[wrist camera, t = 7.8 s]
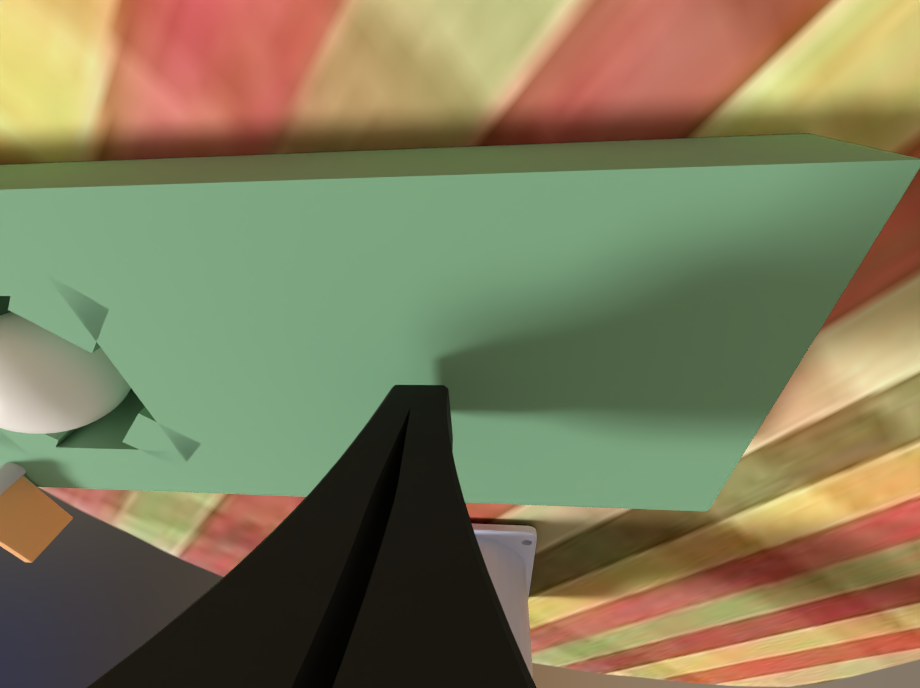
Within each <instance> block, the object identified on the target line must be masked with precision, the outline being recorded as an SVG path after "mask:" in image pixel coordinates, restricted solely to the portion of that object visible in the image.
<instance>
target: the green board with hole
mask: <svg viewBox="0 0 920 688" xmlns="http://www.w3.org/2000/svg"><path fill="white" fill-rule="evenodd" d="M919 168H920V158H916V157H911V156H907V155H902V154H898V153H893V152H889V151H884V150H880V149H875V148H871V147H867V146H862V145H858V144H853V143H849V142H844V141H840V140H835V139H831V138H826V137H822V136H817V135H813V134H783V135H757V136H731V137H705V138H679V139H653V140H627V141H602V142H576V143H550V144H524V145H498V146H472V147H446V148H420V149H394V150H368V151H342V152H316V153H291V154H265V155H239V156H213V157H187V158H161V159H135V160H109V161H83V162H57V163H31V164H5V165H0V315H3V314H6V313H9V312H13V313H15V314H17V315H19V316H21V317H23V318H25V319H27V320H29V321H31V322H33V323H34V324H36V325H38V326H40V327H42V328H44V329H46V330H48V331H50V332H52V333H54V334H56V335H58V336H59V337H61V338H63V339H65V340H67V341H69V342H71V343H73V344H75V345H77V346H79V347H81V348H83V349H84V350H86V351H88V352H90V353H93V352H95V351H96V350H97V349H99V348H100V347H101V348H102V350H103V351H104V352H105V354H106V355H107V356H108V358H109V359H110V360H111V362H112V363H113V364H114V366H115V367H116V368H117V370H118V371H119V372H120V374H121V375H122V376H123V378H124V379H125V380H126V382H127V383H128V384H129V386H130V387H131V388H132V389H130V391H129V393H128V394H127V396H126V397H125V398H124V400H123V401H122V402H121V403H120V404H119V405H118V406H117V407H116V408H115V409H114V410H112V411H111V412H109V413H108V414H107V415H105V416H103V417H102V418H100V419H98V420H96V421H94V422H92V423H90V424H88V425H85V426H82V427H79V428H76V429H72V430H68V431H63V432H57V433H47V434H30V433H21V432H14V431H9V430H5V429H2V428H0V546H1V547H3V548H4V549H6V550H7V551H9V552H11V553H12V554H14V555H15V556H17V557H18V558H20V559H21V560H23V561H24V562H33V561H34V560H35V559H36V558H37V556H39V554H40V553H41V552H42V551H43V550H44V549H45V548H46V547H47V546H48V545H49V544H50V542H51V541H52V540H53V539H54V538H55V537H56V536H57V535H58V534H59V533H60V531H61V530H62V529H63V528H64V527H65V526H66V525H67V524H68V523H69V522H70V521H71V519H73V517H71V516H70V515H69V514H68V513H67V512H66V511H64V510H63V509H62V508H61V507H60V506H58V505H57V504H56V503H55V502H54V501H52V500H51V499H50V498H49V497H47V496H46V495H45V494H44V493H43V492H42V491H40V490H39V489H38V488H37V487H60V488H87V489H114V490H141V491H168V492H195V493H222V494H249V495H276V496H303V497H307V496H308V495H309V493H310V492H311V491H312V490H313V489H314V488H315V487H316V486H317V484H318V483H319V482H320V481H321V480H322V479H323V477H324V476H325V475H326V474H327V473H328V472H329V470H330V469H331V468H332V467H333V466H334V465H335V463H336V462H337V461H338V460H339V459H340V457H341V456H342V455H343V454H344V452H345V451H346V450H347V449H348V447H349V446H350V445H351V443H352V442H353V441H354V440H355V438H356V437H357V436H358V434H359V433H360V432H361V431H362V429H363V428H364V427H365V425H366V424H367V422H368V421H369V420H370V418H371V417H372V416H373V414H374V413H375V411H376V410H377V409H378V407H379V406H380V404H381V403H382V401H383V400H384V398H385V397H386V395H387V394H388V393H389V391H390V390H391V388H392V387H393V386H394V385H444V386H445V387H447V388H448V389H449V400H450V411H451V422H452V433H453V450H452V452H453V457H454V462H455V466H456V471H457V475H458V479H459V483H460V486H461V490H462V494H463V497H464V501H465V502H466V503H493V504H520V505H547V506H574V507H601V508H628V509H655V510H682V511H708V510H709V509H710V507H711V506H712V504H713V502H714V501H715V499H716V497H717V496H718V494H719V493H720V491H721V489H722V488H723V486H724V484H725V483H726V481H727V480H728V478H729V476H730V475H731V473H732V472H733V470H734V468H735V467H736V465H737V463H738V462H739V460H740V459H741V457H742V455H743V454H744V452H745V450H746V449H747V447H748V446H749V444H750V442H751V441H752V439H753V437H754V436H755V434H756V433H757V431H758V429H759V428H760V426H761V425H762V423H763V421H764V420H765V418H766V416H767V415H768V413H769V412H770V410H771V408H772V407H773V405H774V403H775V402H776V400H777V399H778V397H779V395H780V394H781V392H782V390H783V389H784V387H785V386H786V384H787V382H788V381H789V379H790V378H791V376H792V374H793V373H794V371H795V369H796V368H797V366H798V365H799V363H800V361H801V360H802V358H803V356H804V355H805V353H806V352H807V350H808V348H809V347H810V345H811V343H812V342H813V340H814V339H815V337H816V335H817V334H818V332H819V331H820V329H821V327H822V326H823V324H824V322H825V321H826V319H827V318H828V316H829V314H830V313H831V311H832V309H833V308H834V306H835V305H836V303H837V301H838V300H839V298H840V296H841V295H842V293H843V292H844V290H845V288H846V287H847V285H848V284H849V282H850V280H851V279H852V277H853V275H854V274H855V272H856V271H857V269H858V267H859V266H860V264H861V262H862V261H863V259H864V258H865V256H866V254H867V253H868V251H869V250H870V248H871V246H872V245H873V243H874V241H875V240H876V238H877V237H878V235H879V233H880V232H881V230H882V228H883V227H884V225H885V224H886V222H887V220H888V219H889V217H890V215H891V214H892V212H893V211H894V209H895V207H896V206H897V204H898V203H899V201H900V199H901V198H902V196H903V194H904V193H905V191H906V190H907V188H908V186H909V185H910V183H911V181H912V180H913V178H914V177H915V175H916V173H917V172H918V170H919Z"/></svg>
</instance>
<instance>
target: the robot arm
mask: <svg viewBox="0 0 920 688" xmlns="http://www.w3.org/2000/svg"><path fill="white" fill-rule="evenodd" d="M452 450H453V433H452V422H451V411H450V400H449V389H448V388H447V387H445V386H444V385H394V386H393V387H392V388H391V390H390V391H389V393H388V394H387V395H386V397H385V398H384V400H383V401H382V403H381V404H380V406H379V407H378V409H377V410H376V411H375V413H374V414H373V416H372V417H371V418H370V420H369V421H368V422H367V424H366V425H365V427H364V428H363V429H362V431H361V432H360V433H359V434H358V436H357V437H356V438H355V440H354V441H353V442H352V443H351V445H350V446H349V447H348V449H347V450H346V451H345V452H344V454H343V455H342V456H341V457H340V459H339V460H338V461H337V462H336V463H335V465H334V466H333V467H332V468H331V469H330V470H329V472H328V473H327V474H326V475H325V476H324V477H323V479H322V480H321V481H320V482H319V483H318V484H317V486H316V487H315V488H314V489H313V490H312V491H311V492H310V493H309V495H308V496H307V497H306V498H305V499H304V500H303V501H302V502H301V503H300V504H299V505H298V506H297V507H296V509H295V510H294V511H293V512H292V513H291V514H290V515H289V516H288V517H287V518H286V519H285V520H284V521H283V522H282V523H281V524H280V525H279V526H278V527H277V528H276V529H275V530H274V531H273V532H272V533H271V534H270V535H269V536H268V537H267V538H266V539H265V540H263V541H262V542H261V543H260V544H259V545H258V546H257V547H256V548H255V549H254V550H253V551H252V552H251V553H250V554H249V555H248V556H247V557H246V558H244V559H243V560H242V561H241V562H240V563H239V564H238V565H237V566H236V567H235V568H234V569H232V570H231V571H230V572H229V573H228V574H227V575H226V576H225V577H223V578H222V579H221V580H220V581H219V582H218V583H217V584H215V585H214V586H213V587H212V588H211V589H210V590H208V591H207V592H206V593H205V594H204V595H202V596H201V597H200V598H199V599H198V600H196V601H195V602H194V603H193V604H192V605H191V606H189V607H188V608H187V609H186V610H184V611H183V612H182V613H181V614H180V615H179V616H177V618H175V619H174V620H173V621H171V622H170V623H169V624H168V625H167V626H165V627H164V628H163V629H162V630H161V631H159V632H158V633H157V634H156V635H154V636H153V637H152V638H151V639H149V640H148V641H147V642H146V643H144V644H143V645H142V646H140V647H139V648H138V649H137V650H135V651H134V652H133V653H131V654H130V655H129V656H127V657H126V658H125V659H123V660H122V661H121V662H119V663H118V664H117V665H116V666H114V667H113V668H112V669H110V670H109V671H108V672H107V673H105V674H104V675H102V676H101V677H100V678H99V679H97V680H96V681H95V682H93V683H92V684H91V685H89V686H88V687H87V688H536V686H535V683H534V681H533V671H532V656H531V641H530V626H529V611H528V597H529V590H530V584H531V577H532V570H533V563H534V556H535V549H536V543H537V531H536V529H535V528H534V527H532V526H523V525H499V524H475V523H471V521H470V517H469V514H468V511H467V508H466V504H465V501H464V497H463V494H462V490H461V486H460V483H459V479H458V475H457V471H456V466H455V462H454V457H453V452H452Z"/></svg>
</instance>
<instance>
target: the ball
mask: <svg viewBox="0 0 920 688" xmlns="http://www.w3.org/2000/svg"><path fill="white" fill-rule="evenodd" d="M130 389H131V387H130V386H129V384H128V383H127V382H126V380H125V379H124V378H123V376H122V375H121V374H120V372H119V371H118V370H117V368H116V367H115V366H114V364H113V363H112V362H111V360H110V359H109V358H108V356H107V355H106V354H105V352H104V351H103V350H102V348H101V347H100V348H99V349H97V350H96V351H95V352H93V353H90V352H88V351H86V350H84V349H83V348H81V347H79V346H77V345H75V344H73V343H71V342H69V341H67V340H65V339H63V338H61V337H59V336H58V335H56V334H54V333H52V332H50V331H48V330H46V329H44V328H42V327H40V326H38V325H36V324H34V323H33V322H31V321H29V320H27V319H25V318H23V317H21V316H19V315H17V314H15V313H13V312H9V313H6V314H3V315H0V428H2V429H5V430H9V431H14V432H21V433H30V434H47V433H57V432H63V431H68V430H72V429H76V428H79V427H82V426H85V425H88V424H90V423H92V422H94V421H96V420H98V419H100V418H102V417H103V416H105V415H107V414H108V413H109V412H111V411H112V410H114V409H115V408H116V407H117V406H118V405H119V404H120V403H121V402H122V401H123V400H124V398H125V397H126V396H127V394H128V393H129V391H130Z"/></svg>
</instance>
